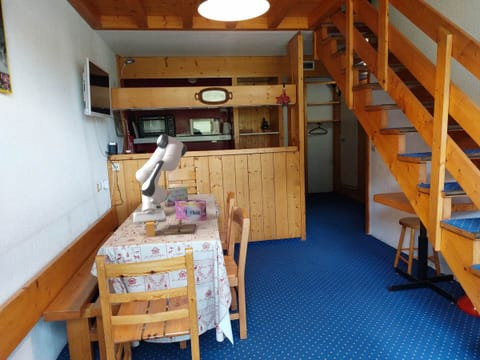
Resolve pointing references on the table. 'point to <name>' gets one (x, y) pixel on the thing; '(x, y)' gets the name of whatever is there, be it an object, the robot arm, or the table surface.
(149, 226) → the upright amber block
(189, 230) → the walnut post board
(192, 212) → the gum box
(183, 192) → the snack box
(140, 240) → the table surface
